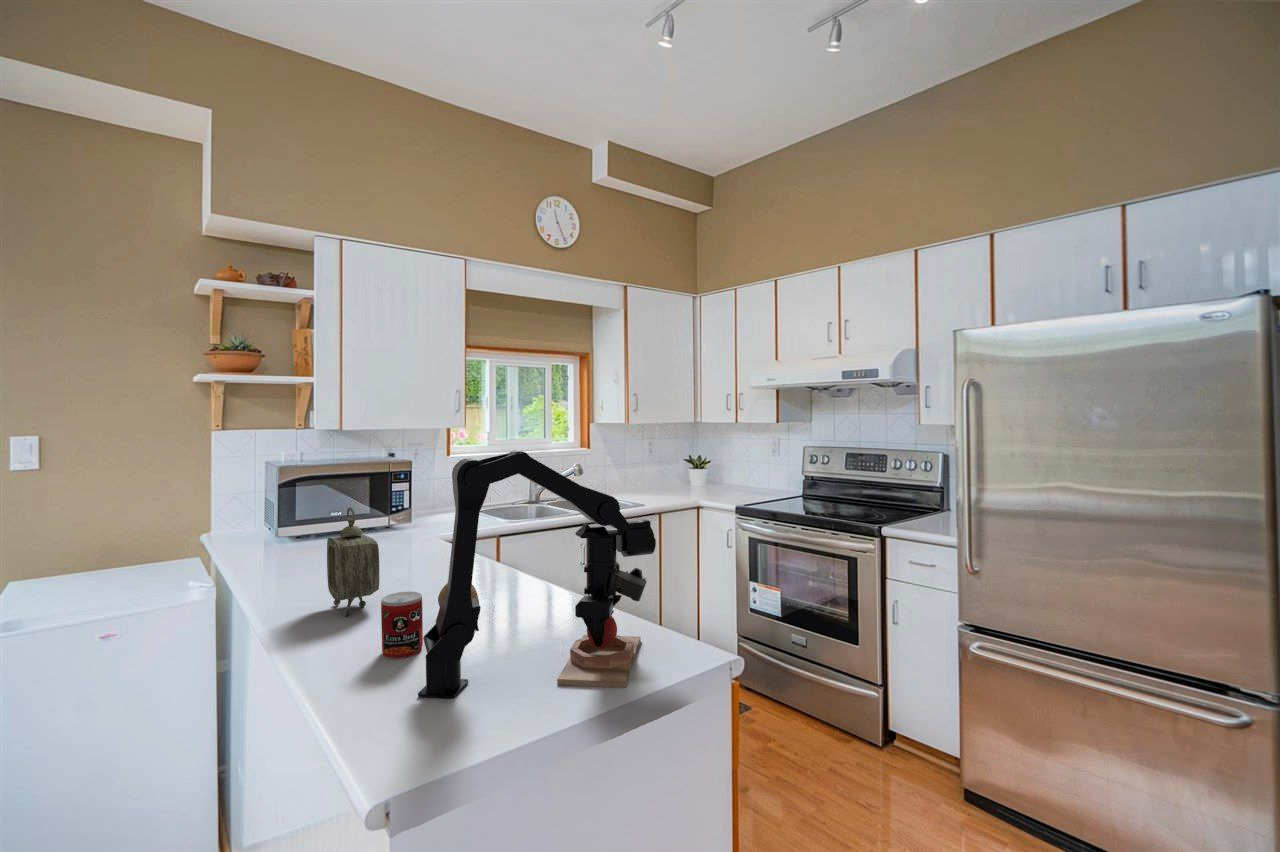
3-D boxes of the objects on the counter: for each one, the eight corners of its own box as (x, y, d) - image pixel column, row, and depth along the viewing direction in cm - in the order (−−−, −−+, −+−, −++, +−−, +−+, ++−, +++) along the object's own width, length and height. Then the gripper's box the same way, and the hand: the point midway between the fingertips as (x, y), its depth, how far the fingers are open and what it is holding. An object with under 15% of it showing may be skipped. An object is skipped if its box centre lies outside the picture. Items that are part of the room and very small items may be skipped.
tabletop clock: (327, 605, 155) (326, 506, 155) (366, 598, 160) (364, 502, 160) (340, 620, 143) (338, 512, 143) (381, 612, 149) (379, 509, 149)
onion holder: (625, 687, 106) (625, 670, 106) (557, 684, 108) (557, 667, 108) (640, 641, 128) (640, 627, 128) (583, 639, 130) (583, 625, 130)
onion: (612, 655, 115) (612, 613, 114) (583, 653, 116) (582, 611, 116) (620, 644, 120) (619, 603, 120) (591, 642, 121) (591, 601, 121)
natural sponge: (437, 618, 144) (436, 575, 144) (476, 613, 147) (476, 572, 147) (439, 630, 136) (438, 585, 135) (480, 625, 139) (480, 581, 139)
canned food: (379, 661, 119) (378, 604, 119) (384, 646, 127) (383, 593, 127) (421, 656, 121) (420, 600, 121) (424, 642, 129) (423, 589, 129)
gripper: (637, 572, 107) (637, 661, 108) (648, 549, 126) (648, 625, 126) (574, 570, 109) (575, 658, 109) (595, 548, 127) (595, 623, 128)
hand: (601, 640), depth 118 cm, fingers closed on onion, 6 cm apart
